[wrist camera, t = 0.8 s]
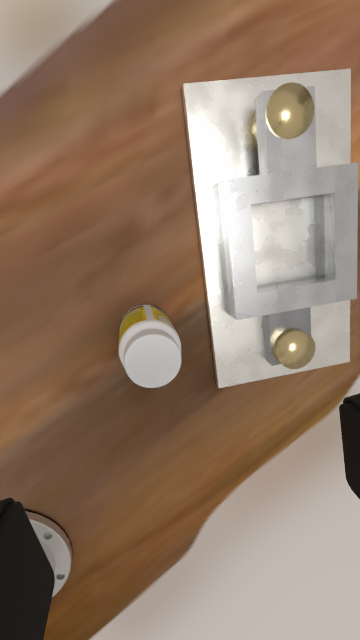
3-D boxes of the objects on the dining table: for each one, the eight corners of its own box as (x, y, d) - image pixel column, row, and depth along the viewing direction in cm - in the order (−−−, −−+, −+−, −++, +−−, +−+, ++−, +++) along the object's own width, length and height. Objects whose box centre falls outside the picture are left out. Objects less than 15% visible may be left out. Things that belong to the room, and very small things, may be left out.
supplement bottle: (118, 351, 30) (115, 393, 22) (120, 302, 29) (118, 327, 21) (169, 353, 31) (183, 393, 23) (173, 305, 30) (190, 330, 22)
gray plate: (343, 358, 34) (372, 374, 30) (215, 383, 33) (228, 404, 29) (342, 74, 27) (379, 46, 23) (181, 89, 26) (191, 62, 22)
